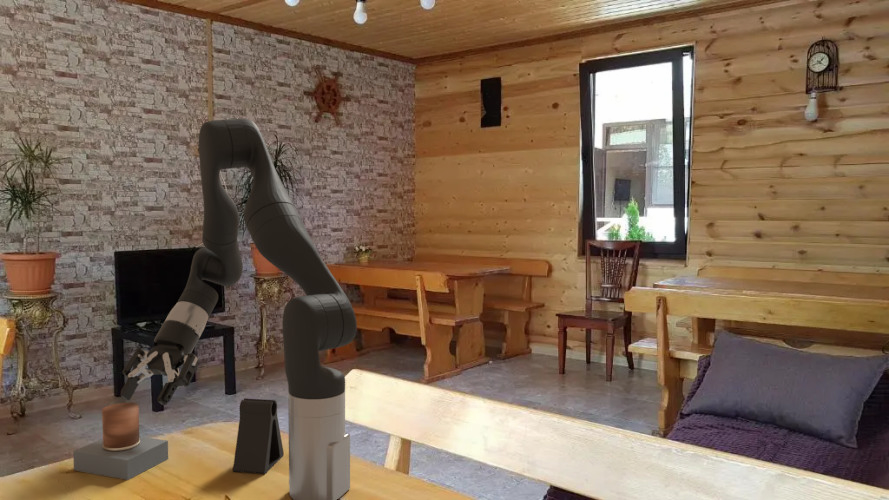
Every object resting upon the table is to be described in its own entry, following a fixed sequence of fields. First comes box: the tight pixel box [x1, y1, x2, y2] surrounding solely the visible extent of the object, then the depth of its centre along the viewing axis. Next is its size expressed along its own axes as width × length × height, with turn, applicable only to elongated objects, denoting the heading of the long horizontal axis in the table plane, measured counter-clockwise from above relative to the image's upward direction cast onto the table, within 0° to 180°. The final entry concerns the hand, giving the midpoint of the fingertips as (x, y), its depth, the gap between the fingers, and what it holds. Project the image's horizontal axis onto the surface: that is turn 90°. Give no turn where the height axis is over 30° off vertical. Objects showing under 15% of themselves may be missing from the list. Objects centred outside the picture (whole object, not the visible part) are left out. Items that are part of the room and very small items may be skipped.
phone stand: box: [232, 397, 285, 475], centre depth 126 cm, size 9×6×12 cm, turn 171°
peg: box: [101, 402, 140, 452], centre depth 125 cm, size 6×6×10 cm
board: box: [73, 435, 169, 481], centre depth 126 cm, size 12×10×4 cm
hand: (142, 400), depth 130 cm, fingers open, 8 cm apart
